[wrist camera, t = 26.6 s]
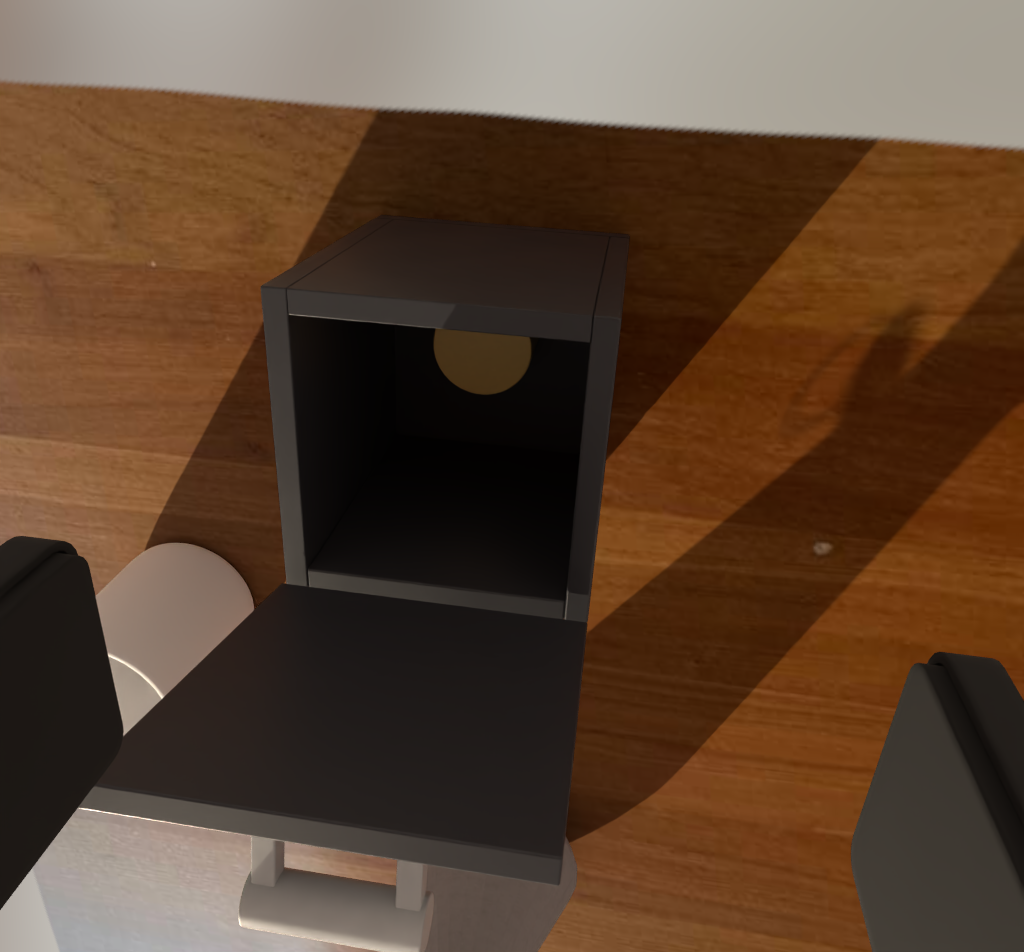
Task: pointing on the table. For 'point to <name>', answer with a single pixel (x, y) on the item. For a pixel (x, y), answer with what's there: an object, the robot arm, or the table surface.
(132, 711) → the mug
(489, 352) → the cylinder
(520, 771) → the chamber lid
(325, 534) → the dark grey storage bin
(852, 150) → the table surface
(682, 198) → the table surface
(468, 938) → the coffee pot
